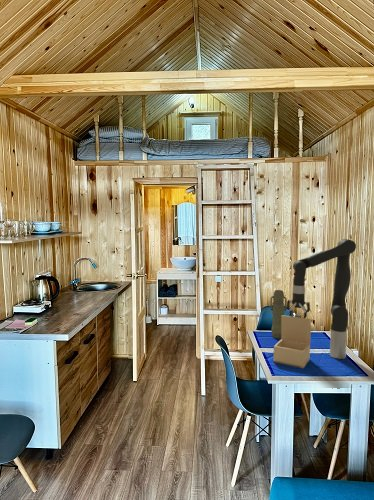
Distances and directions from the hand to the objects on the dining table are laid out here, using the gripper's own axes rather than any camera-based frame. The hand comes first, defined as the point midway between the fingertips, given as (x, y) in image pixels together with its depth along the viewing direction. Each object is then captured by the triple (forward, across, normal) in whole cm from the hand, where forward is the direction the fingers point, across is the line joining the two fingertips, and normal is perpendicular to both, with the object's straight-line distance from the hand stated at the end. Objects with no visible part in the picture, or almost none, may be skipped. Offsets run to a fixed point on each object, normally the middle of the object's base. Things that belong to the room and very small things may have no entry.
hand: (298, 317), depth 235 cm
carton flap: (+7, 0, +6) cm, 9 cm away
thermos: (+25, +22, -31) cm, 45 cm away
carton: (+25, 0, +13) cm, 28 cm away
